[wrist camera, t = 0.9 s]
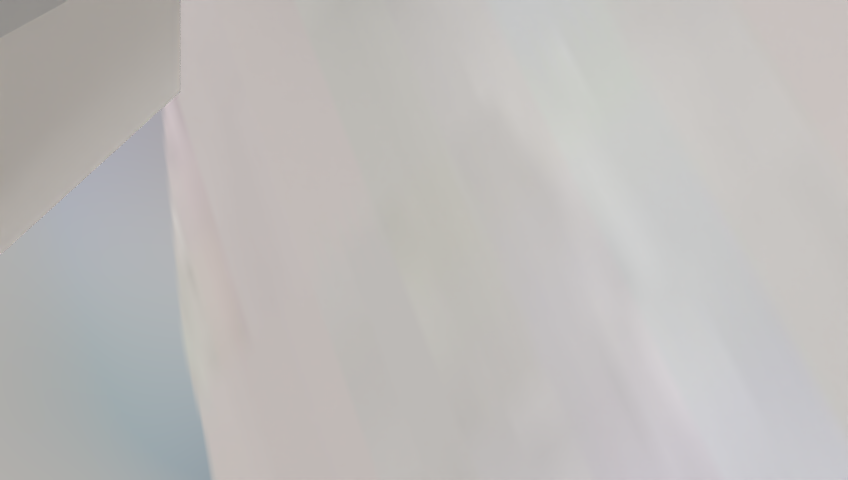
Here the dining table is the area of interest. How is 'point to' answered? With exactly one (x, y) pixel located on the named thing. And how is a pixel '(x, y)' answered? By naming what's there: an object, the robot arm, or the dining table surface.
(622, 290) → the dining table surface
